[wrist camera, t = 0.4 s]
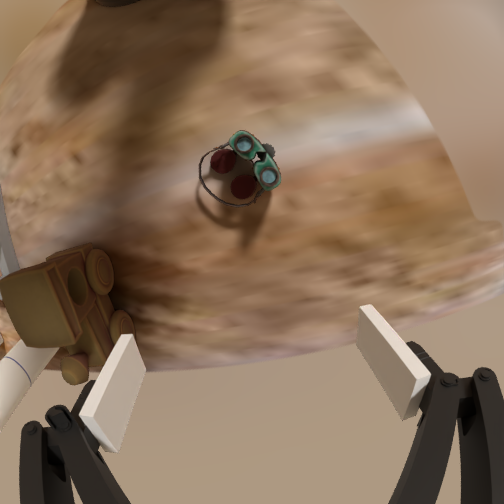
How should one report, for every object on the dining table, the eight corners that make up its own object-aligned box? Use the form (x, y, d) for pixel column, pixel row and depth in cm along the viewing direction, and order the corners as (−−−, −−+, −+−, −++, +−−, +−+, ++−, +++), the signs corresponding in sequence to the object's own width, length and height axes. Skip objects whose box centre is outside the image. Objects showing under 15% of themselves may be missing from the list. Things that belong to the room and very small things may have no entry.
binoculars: (175, 172, 29) (249, 113, 27) (195, 165, 39) (251, 122, 37) (226, 235, 32) (301, 181, 29) (233, 214, 42) (290, 173, 39)
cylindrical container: (65, 347, 46) (6, 434, 22) (47, 355, 46) (-9, 433, 23) (45, 318, 44) (-26, 397, 20) (28, 327, 44) (-37, 400, 20)
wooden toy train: (53, 245, 40) (-9, 282, 24) (105, 230, 40) (47, 266, 24) (92, 345, 46) (56, 404, 30) (144, 340, 46) (116, 407, 30)
